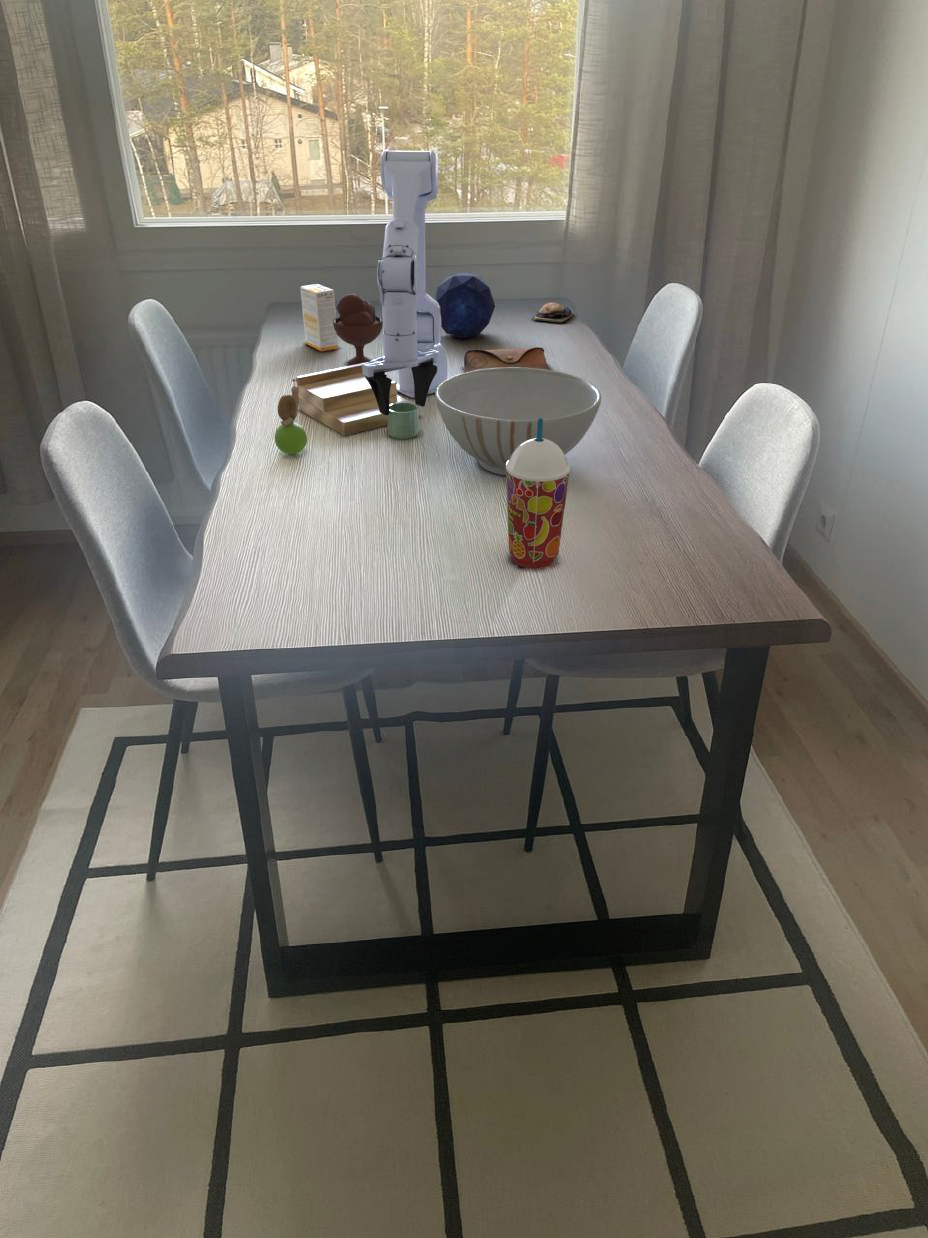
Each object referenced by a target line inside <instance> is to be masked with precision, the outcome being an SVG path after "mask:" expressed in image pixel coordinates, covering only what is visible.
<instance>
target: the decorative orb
mask: <svg viewBox="0 0 928 1238" xmlns="http://www.w3.org/2000/svg"><path fill="white" fill-rule="evenodd" d="M433 299H434V300H436V301H437V302H438V303H439V306H440V314H441V329H442V330H443V331H444V332H445V334H446V335H450V336H453V337H456V338H460V339H463V340H464V339H467V338H471V337H474V336H477V335H480V334H481V333H482V332H483V331H484V330H485V329H486V328H487V327H488V325H490V322H491V319H492V316H493V313H494V311H495V308H496V303H495V300H494V298H493V295H492V291H491V288H490V287H489V285H488V284H487V283H486V282H485V280H484V279H483V278H482V277H480V276H477V275H475V274H471V273H468V272H466V271H465V272H461V273H460V272H459V273H456V274H454V275H449V276H446V278H444V280H443V281H442V282H441V283H440V284H439V285H438V286H437V288H436V291H435V294H434V298H433Z"/></svg>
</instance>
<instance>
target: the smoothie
mask: <svg viewBox="0 0 928 1238" xmlns="http://www.w3.org/2000/svg"><path fill="white" fill-rule="evenodd" d="M542 429H543V419H542V418H538V425H537V438H533V439H529V440H526V441H525V442H523V443H521V444H520V445H519V446H518V447H517V448H516V449H515V450H514V452H513V454H512V456H511V458H510V459H509V460H508V461H507V463H506V465H505V466H506V475H505V476H506V477H505V478H506V479H505V480H506V507H507V508H506V509H507V511H506V512H507V535H508V537H507V538H508V540H507V541H508V552H509V554H510V555H511V557H512V561H513V562H514V564H516V565H518V566H519V567H523V568H526V569H532V570H533V569H534V570H535V569H544V568H547V567H549V566H552V564H553V563H554V561H555V558H556V557H558V556H559V552H560V544H561V539H562V531H563V523H564V515H565V508H566V500H567V494H568V486H569V479H570V472H571V469H572V467H571V464H570V463H569V462H568V460H567V457H566V455H564V453H563V451H562V450H561V448H560V447H559V446H558V445H557V444H555V443H554V442H552V441H550V440H548V439H544V438H542Z"/></svg>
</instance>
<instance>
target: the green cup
mask: <svg viewBox="0 0 928 1238" xmlns="http://www.w3.org/2000/svg"><path fill="white" fill-rule="evenodd" d="M413 403H414V402H413ZM413 403H408V402H399V403H393V404H390V412H389V415H387V423H388V425H387V433H388V435H390V437H392V438H393V439H398V440H407V439H412V438H414V437H417V435H418V434H419V432H420V420H419V419H420V418H419V415H420V414H419V405H418V406H417V405H416V403H415V404H413Z"/></svg>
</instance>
